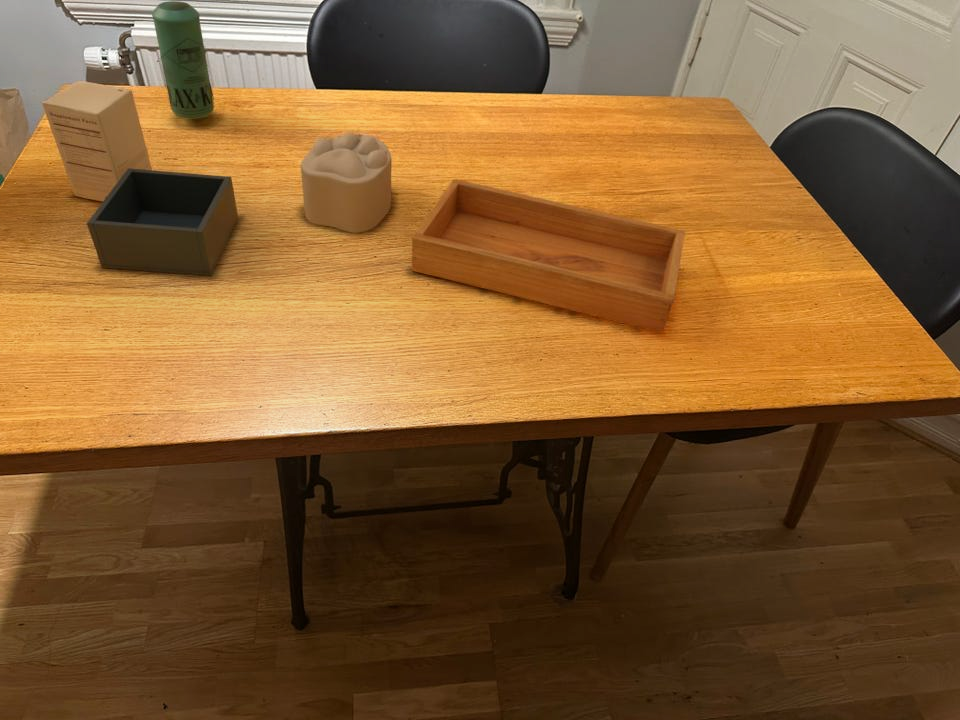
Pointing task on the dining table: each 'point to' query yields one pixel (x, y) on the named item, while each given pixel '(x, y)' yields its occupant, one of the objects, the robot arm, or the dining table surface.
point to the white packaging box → (96, 136)
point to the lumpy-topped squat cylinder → (347, 182)
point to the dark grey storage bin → (164, 222)
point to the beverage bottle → (183, 59)
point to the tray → (551, 253)
